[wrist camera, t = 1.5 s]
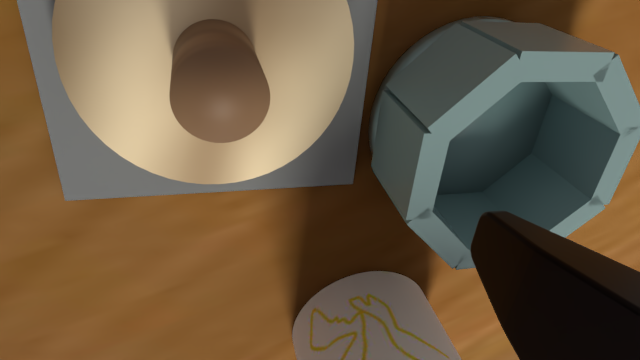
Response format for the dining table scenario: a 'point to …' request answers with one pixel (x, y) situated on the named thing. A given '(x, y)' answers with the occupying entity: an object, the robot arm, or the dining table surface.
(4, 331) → the dining table surface
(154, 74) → the lid
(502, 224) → the robot arm
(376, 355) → the white cylinder
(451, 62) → the grooved blue cylinder
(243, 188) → the mat
